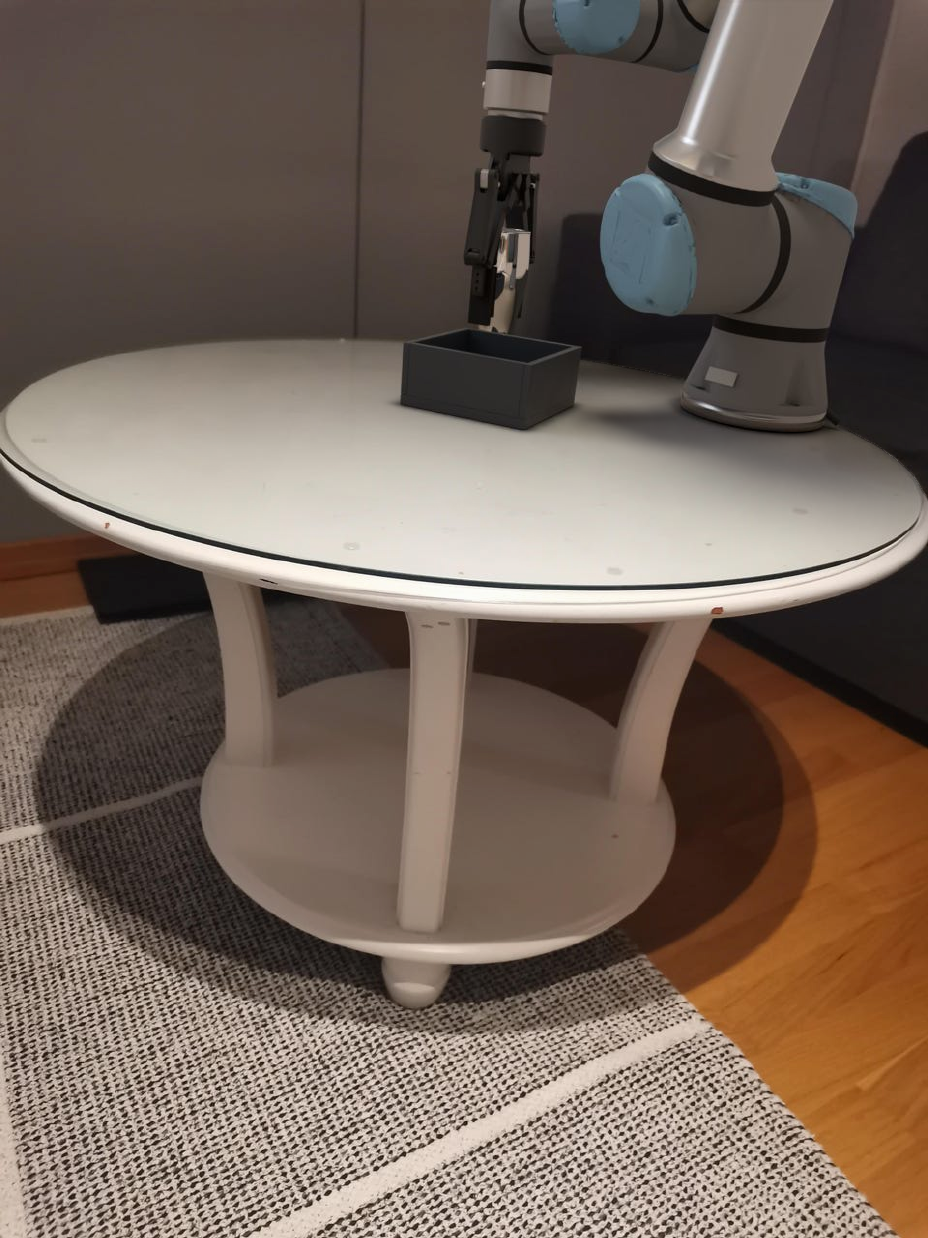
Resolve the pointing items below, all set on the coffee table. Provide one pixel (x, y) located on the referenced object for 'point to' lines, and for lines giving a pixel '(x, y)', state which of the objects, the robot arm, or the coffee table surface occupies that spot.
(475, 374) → the bin
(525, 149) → the robot arm
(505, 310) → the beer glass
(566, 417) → the coffee table surface
